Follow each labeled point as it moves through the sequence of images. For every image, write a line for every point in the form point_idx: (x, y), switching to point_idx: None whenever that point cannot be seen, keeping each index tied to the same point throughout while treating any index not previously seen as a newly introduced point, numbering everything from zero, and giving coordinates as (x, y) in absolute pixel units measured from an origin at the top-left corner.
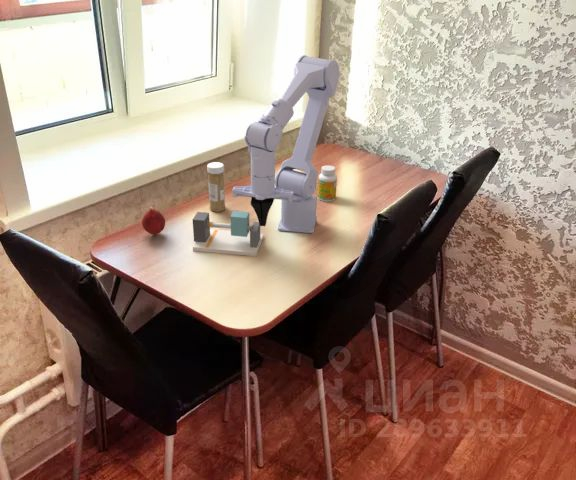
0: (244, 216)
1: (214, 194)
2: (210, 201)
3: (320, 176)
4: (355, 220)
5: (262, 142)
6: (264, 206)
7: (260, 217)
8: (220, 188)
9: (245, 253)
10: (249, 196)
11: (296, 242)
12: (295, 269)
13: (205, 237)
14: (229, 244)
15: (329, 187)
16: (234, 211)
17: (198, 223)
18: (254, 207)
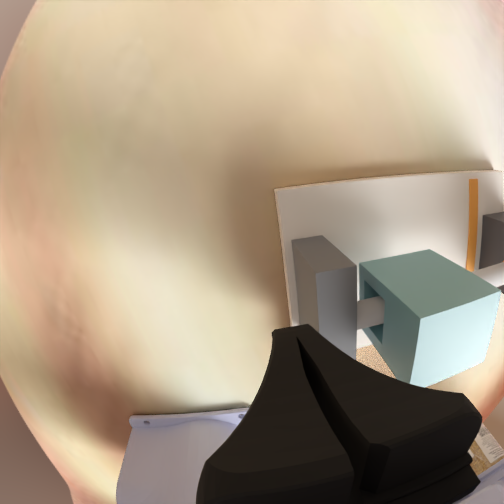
0: (433, 331)
1: (483, 437)
2: None
3: None
4: (78, 470)
5: None
6: (298, 447)
7: (318, 356)
8: (476, 461)
9: (327, 182)
10: (486, 474)
11: (151, 356)
12: (73, 151)
13: (496, 221)
14: (411, 228)
15: None
16: (480, 356)
17: None
18: (416, 394)
